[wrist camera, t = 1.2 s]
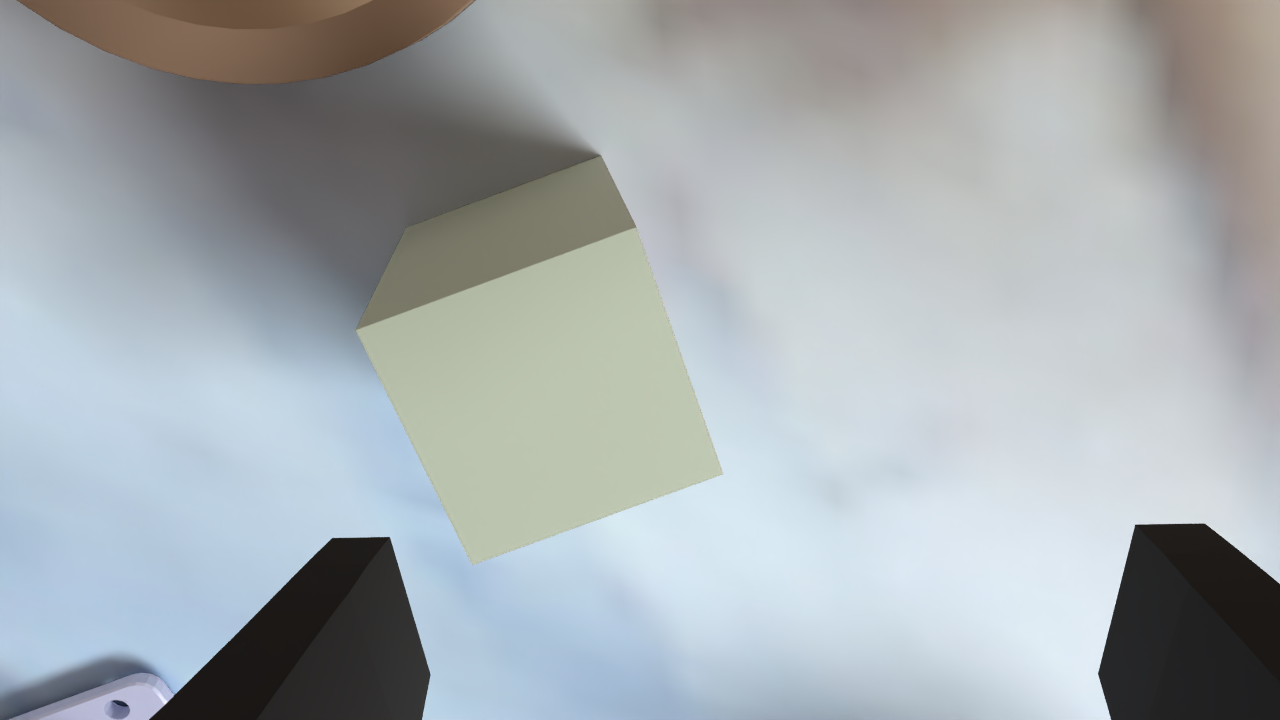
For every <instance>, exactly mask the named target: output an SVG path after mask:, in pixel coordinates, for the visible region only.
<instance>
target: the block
mask: <svg viewBox="0 0 1280 720" xmlns="http://www.w3.org/2000/svg"><path fill="white" fill-rule="evenodd" d="M356 332H357V334H358V336H359V338H360V340H361V342H362V344H363V346H364V348H365V350H366V352H367V354H368V356H369V358H370V361H371V363H372V365H373V367H374V369H375V371H376V373H377V375H378V377H379V379H380V381H381V383H382V385H383V387H384V389H385V391H386V393H387V395H388V397H389V399H390V401H391V403H392V405H393V407H394V409H395V411H396V413H397V415H398V417H399V419H400V421H401V423H402V425H403V427H404V429H405V431H406V433H407V435H408V437H409V439H410V441H411V443H412V445H413V447H414V449H415V451H416V453H417V455H418V457H419V459H420V461H421V463H422V465H423V467H424V469H425V471H426V473H427V475H428V477H429V479H430V481H431V483H432V485H433V487H434V489H435V491H436V493H437V495H438V497H439V499H440V501H441V503H442V505H443V507H444V509H445V511H446V513H447V515H448V517H449V519H450V521H451V523H452V525H453V527H454V529H455V531H456V533H457V536H458V538H459V540H460V542H461V544H462V546H463V548H464V550H465V552H466V554H467V556H468V558H469V560H470V562H471V564H472V565H474V564H477V563H479V562H482V561H485V560H488V559H491V558H493V557H496V556H499V555H502V554H504V553H507V552H510V551H513V550H515V549H518V548H521V547H524V546H526V545H529V544H532V543H535V542H537V541H540V540H543V539H546V538H548V537H551V536H554V535H557V534H559V533H562V532H565V531H568V530H570V529H573V528H576V527H579V526H581V525H584V524H587V523H590V522H593V521H595V520H598V519H601V518H604V517H606V516H609V515H612V514H615V513H617V512H620V511H623V510H626V509H628V508H631V507H634V506H637V505H639V504H642V503H645V502H648V501H650V500H653V499H656V498H659V497H661V496H664V495H667V494H670V493H672V492H675V491H678V490H681V489H683V488H686V487H689V486H692V485H694V484H697V483H700V482H703V481H706V480H708V479H711V478H714V477H717V476H719V475H722V474H723V472H722V469H721V466H720V463H719V460H718V457H717V455H716V452H715V449H714V446H713V443H712V440H711V438H710V435H709V432H708V429H707V426H706V423H705V420H704V418H703V415H702V412H701V409H700V406H699V403H698V401H697V398H696V395H695V392H694V389H693V386H692V384H691V381H690V378H689V375H688V372H687V369H686V367H685V364H684V361H683V358H682V355H681V352H680V350H679V347H678V344H677V341H676V338H675V335H674V332H673V330H672V327H671V324H670V321H669V318H668V315H667V313H666V310H665V307H664V304H663V301H662V298H661V296H660V293H659V290H658V287H657V284H656V281H655V279H654V276H653V273H652V270H651V267H650V264H649V262H648V259H647V256H646V253H645V250H644V247H643V244H642V242H641V239H640V236H639V233H638V230H637V227H636V225H635V223H634V221H633V219H632V217H631V215H630V213H629V211H628V209H627V207H626V205H625V203H624V201H623V199H622V197H621V195H620V193H619V191H618V189H617V187H616V185H615V183H614V181H613V179H612V177H611V175H610V173H609V171H608V168H607V166H606V164H605V162H604V160H603V158H602V156H598V157H596V158H593V159H590V160H588V161H585V162H582V163H579V164H577V165H574V166H571V167H569V168H566V169H563V170H560V171H558V172H555V173H552V174H550V175H547V176H544V177H541V178H539V179H536V180H533V181H531V182H528V183H525V184H523V185H520V186H517V187H514V188H512V189H509V190H506V191H504V192H501V193H498V194H495V195H493V196H490V197H487V198H485V199H482V200H479V201H476V202H474V203H471V204H468V205H466V206H463V207H460V208H457V209H455V210H452V211H449V212H447V213H444V214H441V215H439V216H436V217H433V218H430V219H428V220H425V221H422V222H420V223H417V224H414V225H411V226H409V227H406V229H405V231H404V233H403V235H402V237H401V239H400V241H399V243H398V245H397V247H396V249H395V251H394V253H393V255H392V257H391V259H390V261H389V263H388V265H387V267H386V269H385V271H384V273H383V275H382V277H381V279H380V282H379V284H378V286H377V288H376V290H375V292H374V294H373V296H372V298H371V300H370V302H369V304H368V306H367V308H366V310H365V312H364V314H363V316H362V318H361V320H360V322H359V324H358V326H357V328H356Z"/></svg>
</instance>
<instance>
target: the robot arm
mask: <svg viewBox="0 0 1280 720" xmlns="http://www.w3.org/2000/svg"><path fill="white" fill-rule="evenodd" d="M1098 675H1099V678H1100V682H1101V685H1102V689H1103V692H1104V696H1105V699H1106V703H1107V706H1108V710H1109V713H1110V717H1111V720H1280V584H1279V583H1278V582H1277V581H1275V580H1274V579H1273V578H1272V577H1271V576H1269V575H1268V574H1267V573H1266V572H1264V571H1263V570H1262V569H1261V568H1260V567H1258V566H1257V565H1256V564H1255V563H1254V562H1252V561H1251V560H1250V559H1249V558H1247V557H1246V556H1245V555H1244V554H1242V553H1241V552H1240V551H1239V550H1238V549H1236V548H1235V547H1234V546H1233V545H1231V544H1230V543H1229V542H1228V541H1226V540H1225V539H1224V538H1222V537H1221V536H1220V535H1219V534H1217V533H1216V532H1215V531H1214V530H1212V529H1211V528H1210V527H1208V526H1207V525H1206V524H1150V525H1135V528H1134V532H1133V536H1132V540H1131V544H1130V548H1129V552H1128V556H1127V560H1126V564H1125V568H1124V572H1123V576H1122V580H1121V584H1120V588H1119V592H1118V596H1117V600H1116V604H1115V608H1114V612H1113V616H1112V620H1111V624H1110V628H1109V632H1108V636H1107V640H1106V644H1105V648H1104V652H1103V656H1102V660H1101V664H1100V668H1099V672H1098ZM429 679H430V671H429V668H428V665H427V661H426V658H425V654H424V651H423V648H422V644H421V641H420V638H419V634H418V631H417V627H416V624H415V621H414V617H413V614H412V610H411V607H410V604H409V600H408V597H407V594H406V590H405V587H404V583H403V580H402V577H401V573H400V570H399V567H398V563H397V560H396V556H395V553H394V550H393V546H392V543H391V539H390V537H371V538H332V539H331V540H330V541H329V542H328V543H327V544H326V545H325V546H324V547H323V548H322V549H321V550H320V551H318V552H317V553H316V554H315V555H314V556H313V557H312V558H311V559H310V560H309V561H308V562H307V563H306V564H305V565H304V566H303V567H302V568H301V569H300V570H299V571H298V572H297V573H296V574H295V575H294V576H293V577H292V578H291V580H290V581H289V582H288V583H287V584H286V585H285V586H284V587H283V588H282V589H281V590H280V591H279V592H278V593H277V594H276V595H275V596H274V597H273V598H272V599H271V600H270V601H269V602H268V603H267V604H266V605H265V606H264V607H263V608H262V609H261V610H260V611H259V612H258V613H257V614H256V615H255V616H254V617H253V618H252V619H251V620H250V621H249V622H248V623H247V624H246V625H245V626H244V627H243V628H242V629H241V630H240V631H239V632H238V633H237V634H236V635H235V636H234V637H233V638H232V639H231V640H230V641H229V642H228V643H227V644H226V645H225V646H224V647H223V648H222V649H221V650H220V651H219V652H218V653H217V654H216V655H215V656H214V657H213V658H212V659H211V660H210V661H209V662H208V663H207V664H206V665H205V666H204V667H203V668H202V669H201V670H200V671H199V672H198V673H197V674H196V675H195V676H194V677H193V678H192V679H191V680H190V681H189V682H188V683H187V684H186V685H185V686H184V687H183V688H182V689H180V690H179V691H178V692H177V693H176V694H175V695H173V694H172V692H171V691H170V689H169V688H168V686H167V685H166V683H164V682H163V681H162V680H161V679H160V678H159V677H157V676H155V675H153V674H149V673H137V674H132V675H129V676H126V677H124V678H121V679H118V680H115V681H113V682H110V683H107V684H104V685H102V686H99V687H96V688H93V689H91V690H88V691H85V692H82V693H80V694H77V695H74V696H71V697H69V698H66V699H63V700H60V701H58V702H55V703H52V704H49V705H47V706H44V707H41V708H38V709H36V710H33V711H30V712H27V713H25V714H22V715H19V716H16V717H14V718H11V719H8V720H422V716H423V711H424V705H425V700H426V695H427V690H428V685H429ZM113 700H119V701H123V702H125V703H126V704H127V705H128V706H127V707H123V706H119V705H117V704H116V703H114V702H113Z"/></svg>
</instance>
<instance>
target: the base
mask: <svg viewBox="0 0 1280 720" xmlns="http://www.w3.org/2000/svg"><path fill="white" fill-rule="evenodd" d="M17 1H19V2H20V3H22V4H23V5H25V6H26V7H28V8H29V9H31V10H32V11H34V12H36V13H37V14H39V15H40V16H42V17H43V18H45V19H46V20H48V21H49V22H51V23H52V24H54V25H55V26H57V27H59V28H60V29H62V30H64V31H66V32H68V33H70V34H72V35H74V36H76V37H78V38H80V39H82V40H84V41H86V42H88V43H90V44H92V45H94V46H96V47H98V48H100V49H102V50H104V51H106V52H109V53H111V54H114V55H117V56H119V57H122V58H125V59H128V60H130V61H133V62H136V63H138V64H141V65H144V66H146V67H149V68H153V69H157V70H161V71H165V72H169V73H173V74H177V75H182V76H186V77H190V78H194V79H201V80H210V81H218V82H227V83H236V84H278V83H290V82H297V81H304V80H310V79H317V78H324V77H329V76H332V75H335V74H339V73H342V72H346V71H349V70H352V69H356V68H359V67H363V66H366V65H369V64H371V63H373V62H375V61H377V60H380V59H382V58H384V57H386V56H388V55H391V54H393V53H395V52H397V51H399V50H402V49H404V48H406V47H408V46H410V45H412V44H414V43H417V42H419V41H421V40H422V39H424V38H426V37H427V36H429V35H430V34H432V33H433V32H435V31H437V30H438V29H440V28H441V27H443V26H444V25H446V24H447V23H449V22H451V21H452V20H453V19H454V18H456V17H457V16H458V15H459V14H460V13H461V12H463V11H464V10H465V9H466V8H467V7H468V6H469V5H471V4H472V3H473V2H474V1H475V0H17Z"/></svg>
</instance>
